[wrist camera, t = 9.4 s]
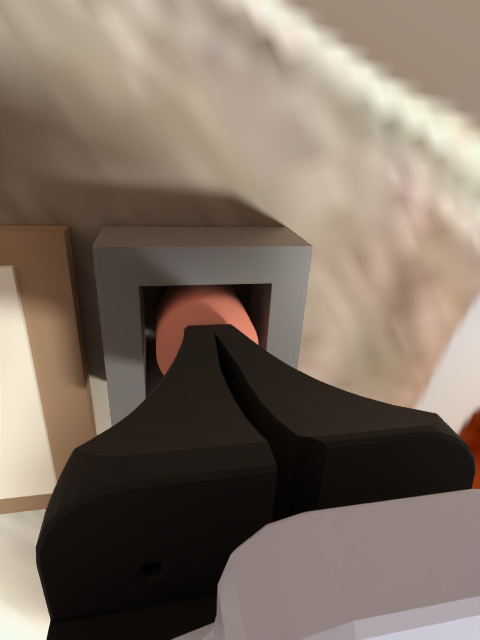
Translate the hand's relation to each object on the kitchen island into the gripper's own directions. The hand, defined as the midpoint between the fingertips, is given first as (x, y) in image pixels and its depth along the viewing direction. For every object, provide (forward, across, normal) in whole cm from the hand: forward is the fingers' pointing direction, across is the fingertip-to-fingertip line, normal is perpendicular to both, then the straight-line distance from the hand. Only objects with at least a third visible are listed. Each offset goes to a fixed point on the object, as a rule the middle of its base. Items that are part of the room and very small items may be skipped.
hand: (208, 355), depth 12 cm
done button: (+3, 0, 0) cm, 3 cm away
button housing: (+3, 0, 0) cm, 3 cm away
